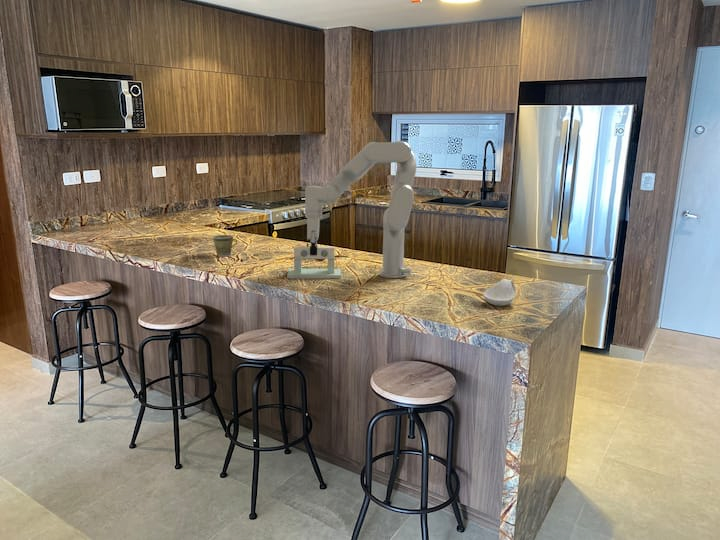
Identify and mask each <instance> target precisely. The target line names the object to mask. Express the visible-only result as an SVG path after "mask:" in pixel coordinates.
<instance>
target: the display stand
mask: <svg viewBox="0 0 720 540" xmlns="http://www.w3.org/2000/svg"><path fill="white" fill-rule="evenodd" d="M293 258H294V260H293V264H294V265H293V267H294V268H288V272H287V274H286V278H287V279H332V278H341V279H342V269H341V268H335V258H334V257H328V259H327V268H303V267H302V265H303V262H302V260H303V259H301V257H294V256H293Z"/></svg>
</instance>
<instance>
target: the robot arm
mask: <svg viewBox="0 0 720 540" xmlns="http://www.w3.org/2000/svg"><path fill="white" fill-rule="evenodd" d="M386 163H387V164H389V163H391V164H392V163H396V171H395V175H394V180H393V183H392V186H391V189H390V198H391V199H390V204H389V207H388V208H386V209H385V211H384V213H383V217H382V218H383V219H382V220H383V221H382V224H383V227H382V228H383V229H382V230H383V231H382V232H383V235H382V236H383V239H382V241H383V243H382V269H380V271H379V272H378V275H379V276H380V277H383V278H387V279H400V278H405V277H406V276H407V275H411V274H412V269H411V268H407V267H406V265H404V261H405V259H404V257H405V256H404V255H405V229H406V226H407V225H408V223H409V220H410V216H411V215H410V214H411V211H412V207H413V205H414V201H415V200H414V199H415V192H414V190H413V186H414V182H415V178H416V177H415V176H416V172H417V161H416V157H415V154H414V152H413V151H412V148H411V146H410V145H409V143H407V142H405V141H402V140H397V141H389V142H388V141H387V142H385V141H384V142H376V141H370V142H367V144H365V146H364V147H363V148H362V149H361V150H360V151H359V152H358V153H357V154H355V156H354V157H353V158H352V159H351V160H349V162H348V163H347V164H346V165H345V166H344V167H343V168H342V169H341V170H340V171H339V172H338V173H337V174H336V175H335V177H334V178H333V179H331V180H330V181H329V183H327V184H326V185H325V187H324V186H323V187H322V186H320V185H307V186H306V187H305V191H304V192H305V196H304V197H305V198H304V199H305V200H304V201H305V205H304V207H305V210H304V211H305V213H304V214H305V215H304V216H305V219H307V224H306V225H307V227H306V231H307V232H306V234H307V235H306V240H307V241H309V240H310V242H309V246H310V255H317V246H318V240H319V236H320V223H321V222H320V221H321V220H320V219H322V218H323V204H324V203H325V204H330V205H331V204H332V205H333V204H336V203H337V202H338V201H339V200H340V197H341V195H342V194H343V193H344V192H345V191H346V190H347V189H348V188H349V187H350V186H351V185H353V184H354V183H355V182H359V180H361V179H362V178H363V177H364V176H365V174H367V173H368V171H370V170H371V169H372V168H373V167H374V166H375V165H376V164H386Z"/></svg>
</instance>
